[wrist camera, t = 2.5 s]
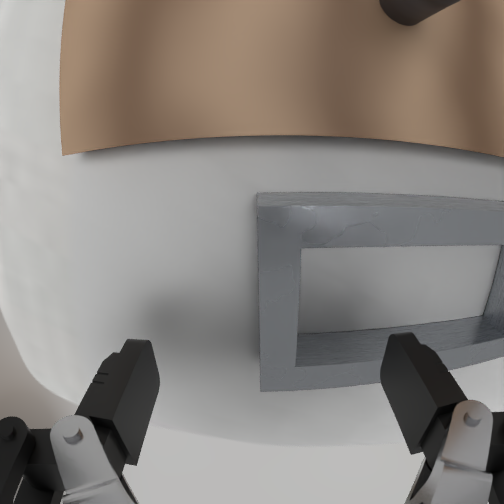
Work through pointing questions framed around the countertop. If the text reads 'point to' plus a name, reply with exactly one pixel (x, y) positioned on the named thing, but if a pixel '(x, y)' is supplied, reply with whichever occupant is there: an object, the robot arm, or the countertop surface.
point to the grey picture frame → (364, 235)
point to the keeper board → (282, 71)
